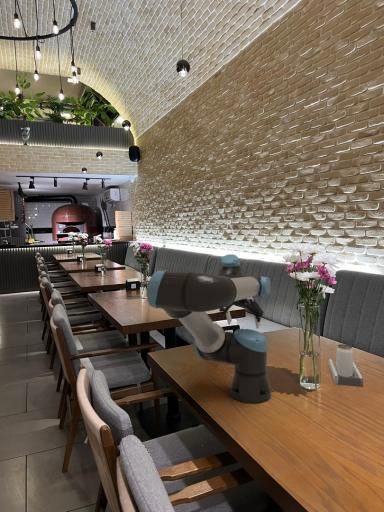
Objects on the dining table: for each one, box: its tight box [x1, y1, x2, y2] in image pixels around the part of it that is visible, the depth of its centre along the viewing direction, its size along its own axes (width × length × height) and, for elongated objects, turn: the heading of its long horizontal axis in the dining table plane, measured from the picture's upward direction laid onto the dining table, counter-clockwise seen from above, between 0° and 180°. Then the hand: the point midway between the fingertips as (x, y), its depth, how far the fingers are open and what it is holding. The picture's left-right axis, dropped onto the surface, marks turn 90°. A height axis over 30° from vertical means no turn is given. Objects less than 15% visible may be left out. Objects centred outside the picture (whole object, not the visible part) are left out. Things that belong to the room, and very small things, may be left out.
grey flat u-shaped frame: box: [328, 358, 364, 387], centre depth 158 cm, size 20×10×3 cm, turn 167°
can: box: [335, 343, 354, 377], centre depth 158 cm, size 6×6×12 cm
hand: (243, 324), depth 173 cm, fingers open, 13 cm apart
